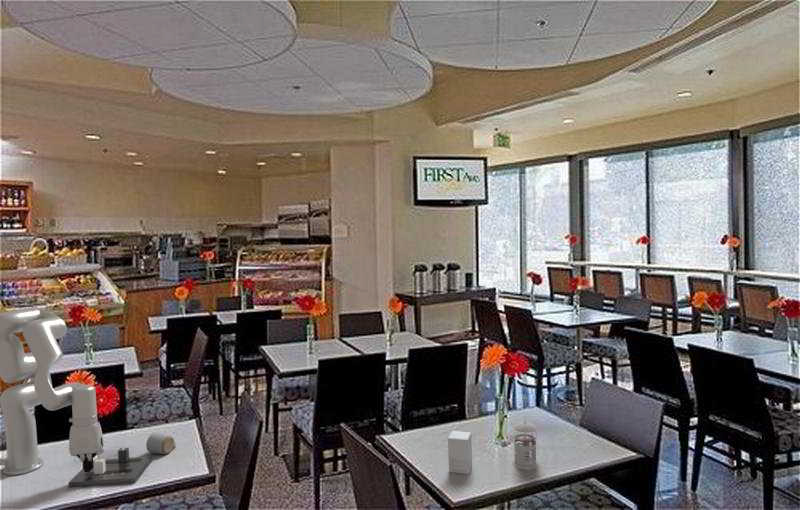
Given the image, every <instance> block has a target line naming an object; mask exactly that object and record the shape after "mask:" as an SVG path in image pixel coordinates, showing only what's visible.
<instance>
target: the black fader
mask: <svg viewBox="0 0 800 510" xmlns="http://www.w3.org/2000/svg"><path fill="white" fill-rule="evenodd" d="M117 456H118V457H117V459H118V462H127V461H128V460H129V458H130V449H129V447H121V448H119V449H118V450H117Z"/></svg>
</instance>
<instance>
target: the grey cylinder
mask: <svg viewBox="0 0 800 510" xmlns="http://www.w3.org/2000/svg"><path fill="white" fill-rule="evenodd" d="M145 445H146V446H145V447H146V451H147V452H149V453H152V454H159V455H167V454H170V453H171V452H172V450H173V449H174V448H176V446H177V443H176V442H175V439H174V437H173V436H172V435H170V434H166V433H165V434H164V433H160V432H153V433H151V434H150V435H149V436H148V438H147V440H146V444H145Z"/></svg>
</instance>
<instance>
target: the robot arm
mask: <svg viewBox="0 0 800 510" xmlns="http://www.w3.org/2000/svg"><path fill="white" fill-rule="evenodd" d="M67 331H68V328H67V325H66V322H65V320H63V319H62V318H61V317H60V316H58V315H56V313H54V312H53V313H52V312H50V311H48V310H47V309H44V308H41V307H38V306H37V307H36V306H35V307H34V306H33V307H26V308H20V309H19V308H18V309H13V310H8V311H4V312H0V378H1V381H2V382H4V383H7V384H12V383H17V382H21V381H25V380H27V379H29V381H28V382H24V383H21V384H17V385H14V386H11V387H9V388H6V389H5V390H4V391H3V392H2V393H1V394H0V407H1V411H2V415H3V419H4V430H5V441H6V443H5V444H6V456H7V457H0V466H4V467H3V468H2V469H3V470H2V471H3V474H4V475H7V476H8V475H9V476H17V475H18V476H19V475H23V474H26V473H27V474H28V473H31V472H34V471H35V470H38V469H39V468H41V467H42V466H43V465H44V459H42V458H40V457H39V449H38V435H37V434H38V433H37V423H36V418H35V416H34V415H33V414H32V413H31V412H30V409H31V408H33V407H36V406H39V405H42V407H43V408H44V409H46V410H47V411H50V412H51V411H56V410H59V409H62V408H66V407H68V406H71V408H72V410H71V411H72V417H70V418H68V419H69V420H68V422H69V423H72V425H71V426H70V428H69V429H70V430H69V438H68V440H69V441H68V449H69V450H68V451H69V454H70V456H71V457H77V458H78V459H79V460H80V461H81V462H82V469H84V472H90V471H91V470H92V469H93V467H94V464H93V460H94V458H95V457H96V456H100V455H102V454H103V453H104V451H105V450H104V437H103V431H102V427H101V426H102V425H101V424H100V421H98V409H97V395H96V394H97V393H96V392H97V391H96V388H95V386H94V385H92V384H83V383H81V382H77V381H73V382H70V383H65V384H62V385H58V386H57V387H54V388H53V383H52V377H51V373H50V372H51V370H52V368H53V366H55V365H56V364H57V363H59V362H60V361H61V360H62V359H63V357H64V353H63V350H62V349H61V347H60V345H59V343H58V341H57V340H58V339H61V338H63V337H65V336H66V334H67ZM17 333H18V334H19V333H22V335H23V338H24V340H25V342H26V344H27V347H28V349H29V350H30V352H28V353H26V352H25V350H24V344H23V342H22V340H21V339H20V338H19V337H18V336H17V335H16V334H17Z"/></svg>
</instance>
